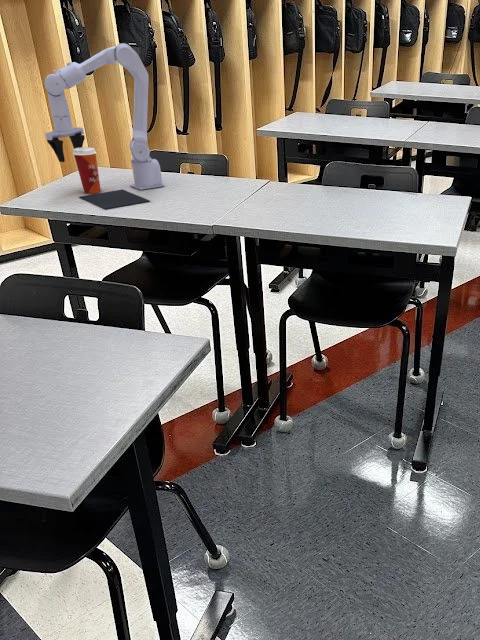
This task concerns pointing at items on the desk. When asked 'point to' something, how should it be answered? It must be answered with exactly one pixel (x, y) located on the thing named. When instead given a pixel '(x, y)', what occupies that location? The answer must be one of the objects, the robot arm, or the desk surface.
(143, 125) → the robot arm
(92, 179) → the paper cup
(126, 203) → the desk mat
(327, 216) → the desk surface
